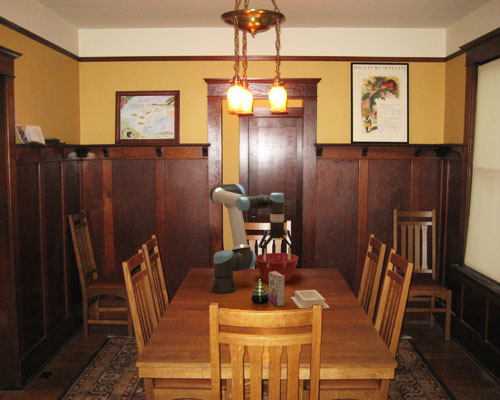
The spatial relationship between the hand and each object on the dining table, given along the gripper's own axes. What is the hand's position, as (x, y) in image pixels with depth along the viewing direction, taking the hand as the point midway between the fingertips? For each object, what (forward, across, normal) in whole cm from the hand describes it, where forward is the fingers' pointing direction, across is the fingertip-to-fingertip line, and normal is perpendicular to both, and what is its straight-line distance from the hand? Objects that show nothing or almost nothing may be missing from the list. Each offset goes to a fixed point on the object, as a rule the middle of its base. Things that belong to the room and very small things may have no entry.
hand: (276, 260), depth 254 cm
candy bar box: (+24, 0, 0) cm, 24 cm away
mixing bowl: (+24, +10, +43) cm, 51 cm away
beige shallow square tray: (+24, +18, -3) cm, 30 cm away
